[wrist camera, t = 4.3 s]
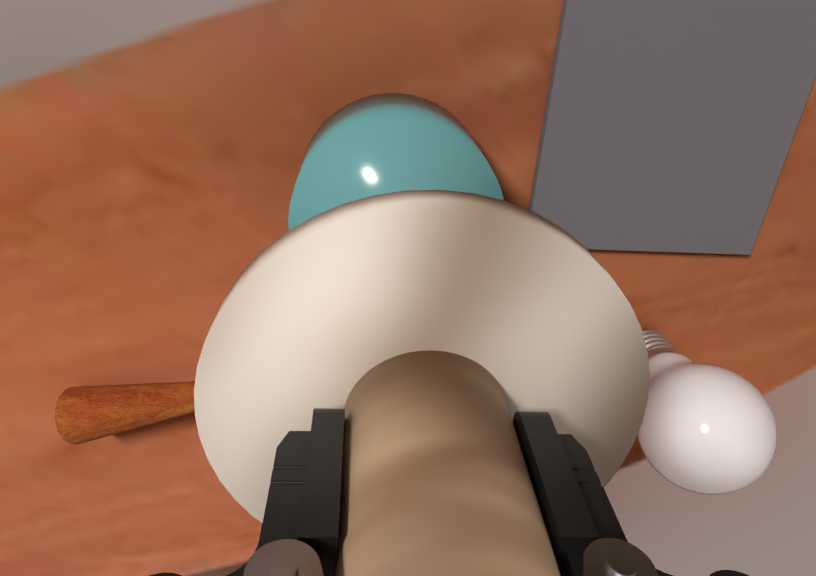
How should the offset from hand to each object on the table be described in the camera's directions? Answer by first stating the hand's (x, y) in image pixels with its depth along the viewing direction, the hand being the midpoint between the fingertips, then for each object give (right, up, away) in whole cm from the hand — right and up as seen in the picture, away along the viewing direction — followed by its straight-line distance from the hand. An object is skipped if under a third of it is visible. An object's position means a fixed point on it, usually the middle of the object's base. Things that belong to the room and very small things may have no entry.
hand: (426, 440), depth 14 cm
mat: (+13, +12, +17) cm, 24 cm away
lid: (0, +1, +2) cm, 2 cm away
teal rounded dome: (-1, +9, +17) cm, 20 cm away
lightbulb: (+14, 0, +23) cm, 27 cm away
